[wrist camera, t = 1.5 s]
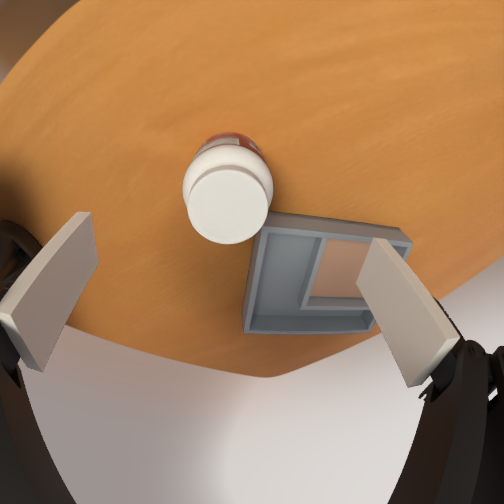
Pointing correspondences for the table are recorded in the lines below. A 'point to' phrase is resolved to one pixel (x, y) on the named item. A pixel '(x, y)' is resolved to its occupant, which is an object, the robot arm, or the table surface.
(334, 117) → the table surface
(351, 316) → the walled box
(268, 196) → the pill bottle
